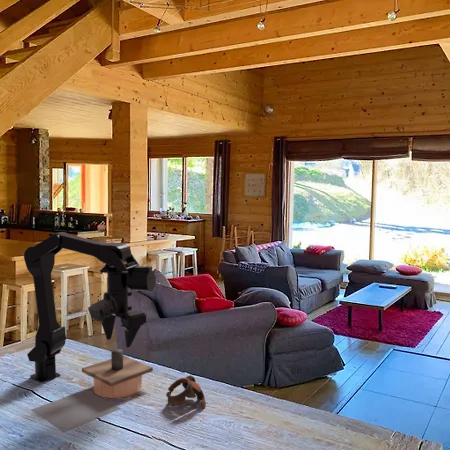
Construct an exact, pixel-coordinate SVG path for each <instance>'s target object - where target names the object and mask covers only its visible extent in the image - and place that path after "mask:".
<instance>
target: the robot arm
mask: <svg viewBox="0 0 450 450" xmlns="http://www.w3.org/2000/svg"><path fill="white" fill-rule="evenodd" d="M63 249H64V250H69V251H72V252H76V253H80V254H84V255H87V256H92V257H94V258H96V259H97V260H98V261H100V262H101V263H103V264H105V265H104V266H103V267H102V268H101V269H100V270H99V272H100V273H104V274H106V275H107V277H106V278H107V282H106V283H107V287H106V288H107V291H105V292H104V293H103V297H102V299H100V300H98V301H96V302H95V303H93V304H91V305H90V306H89V307H87V310H88V313H89V315H90V318H91V320H95V321H97V322H100V324H101V326H102V329H103V333H104V334H105V337H106V340H108V341H109V340H111V339H112V336H113V331H114V327H115V322H116V317H117V318H119V319H120V323H121V325H119V326H120V327H121V328H122V329H123V331H124V339H125V346H126V348H130V347H131V346H132V344H133V342H134V340H135V338H136V336H137V334H138V333H139V330H140V328H141V327H142V326H144V324H147V322H148V319H147V317H148V315H147V314H146V313H145V312H143V311H140V310H137V309H136V310H133V311H132V309H133V307H132V305H129V297H131V296H132V292H133V291H138V292H139V291H140V292H153V291H154V289H155V286H156V280H157V277H156V274H155V272H154V271H153V266H151V265H146V266H141V265H140V264H139V263H138V261H137V260H136V258H135V256H134V255H133V253H132V250H131V248H130V246H129V245H128V244H127V243H124V242H100V241H97V240H94V239H89V238H86V237H83V236H78V235H74V234H70V233H67V232H66V231H62V232H61V231H60V232H55V233H52V235H50V236H49V237H47V238H46V239H44V240H42V241H41V242H39V243H37V244H35V245H33V246H29V247H27V248H26V250H24V252H23V258H24V263H25V266H26V269H27V271H28V272H29V273H30V275H31V276H32V278H33V287H34V294H35V302H36V310H37V316H38V317H37V318H38V328H37V330H36V333H35V337H34V339H35V341H34V342H35V343H34V347H33V348H32V349H30V351H29V352H28V353H27V354H26V355H27V356H26V357H27V358H28V361H29V362H31V363H32V362H34V374H30V375H29V376H30V377H29V378H31V379H32V380H35V381H36V382H37V383H43V382H46V381H50V380H52V379H55V378H59V377H61V374H60V373H58V372H56V371H57V369H56V355H59V354H60V353H61V351H62V349H63V348H64V346H65V344H66V340H68V338H67V335H66V327H65V326H61V325H60V324H59V322H58V319H57V312H56V306H55V305H56V304H55V297H54V289H53V282H52V281H53V280H52V271H53V270H54V266H55V261H56V260H55V259H56V258H55V257H56V255H57V254H59V253H60V252H61V251H62V250H63ZM129 289H130V290H131V291H129Z"/></svg>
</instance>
